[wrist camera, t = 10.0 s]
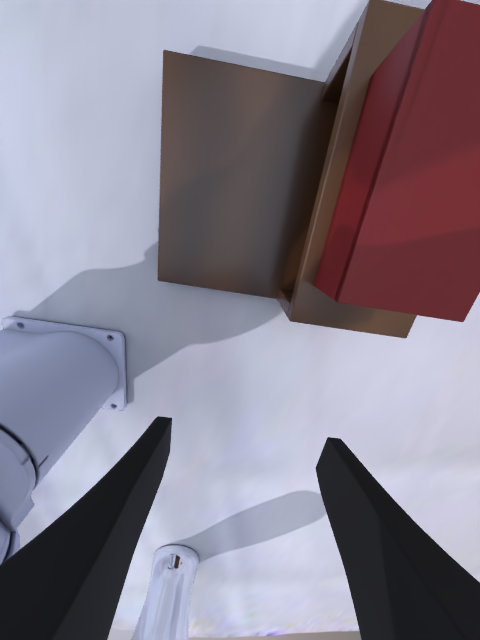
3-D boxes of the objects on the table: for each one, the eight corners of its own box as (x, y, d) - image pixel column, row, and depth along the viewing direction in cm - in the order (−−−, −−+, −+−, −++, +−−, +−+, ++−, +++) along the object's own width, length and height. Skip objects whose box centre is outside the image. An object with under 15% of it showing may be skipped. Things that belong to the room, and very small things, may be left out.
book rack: (164, 277, 17) (126, 297, 11) (171, 68, 13) (116, -63, 7) (354, 306, 18) (407, 339, 12) (420, 118, 13) (547, 35, 8)
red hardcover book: (312, 285, 11) (337, 303, 8) (370, 75, 8) (436, -7, 5) (408, 301, 11) (463, 322, 9) (495, 101, 9) (620, 35, 6)
